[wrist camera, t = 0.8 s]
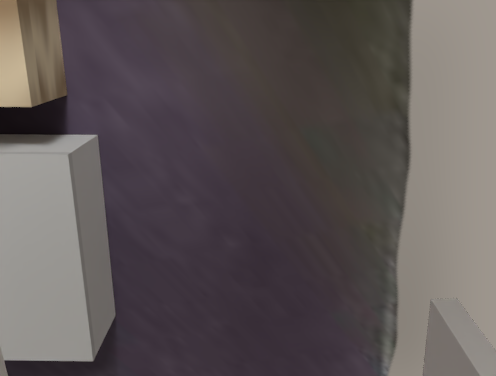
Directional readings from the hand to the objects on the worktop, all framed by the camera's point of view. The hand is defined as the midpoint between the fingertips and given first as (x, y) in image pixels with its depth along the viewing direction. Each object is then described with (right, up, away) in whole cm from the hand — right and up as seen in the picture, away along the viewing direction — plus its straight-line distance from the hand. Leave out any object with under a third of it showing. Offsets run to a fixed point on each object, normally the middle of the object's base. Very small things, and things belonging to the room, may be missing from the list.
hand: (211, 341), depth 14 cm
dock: (-18, +1, +24) cm, 30 cm away
